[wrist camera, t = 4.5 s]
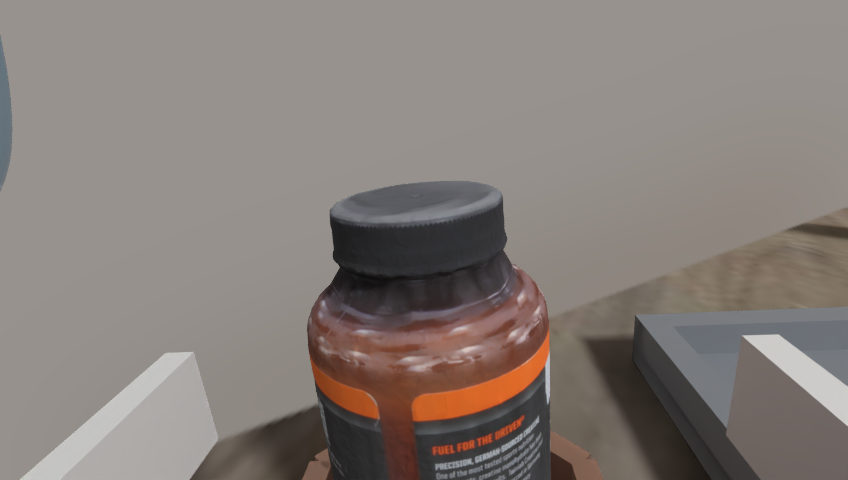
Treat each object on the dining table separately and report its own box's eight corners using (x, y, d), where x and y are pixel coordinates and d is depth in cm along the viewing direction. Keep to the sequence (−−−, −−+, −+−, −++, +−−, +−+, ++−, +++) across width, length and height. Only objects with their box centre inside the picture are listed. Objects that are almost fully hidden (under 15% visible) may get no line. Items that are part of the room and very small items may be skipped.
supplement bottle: (582, 532, 14) (596, 176, 10) (482, 747, 9) (446, 256, 6) (433, 450, 17) (405, 168, 14) (312, 577, 13) (228, 214, 10)
